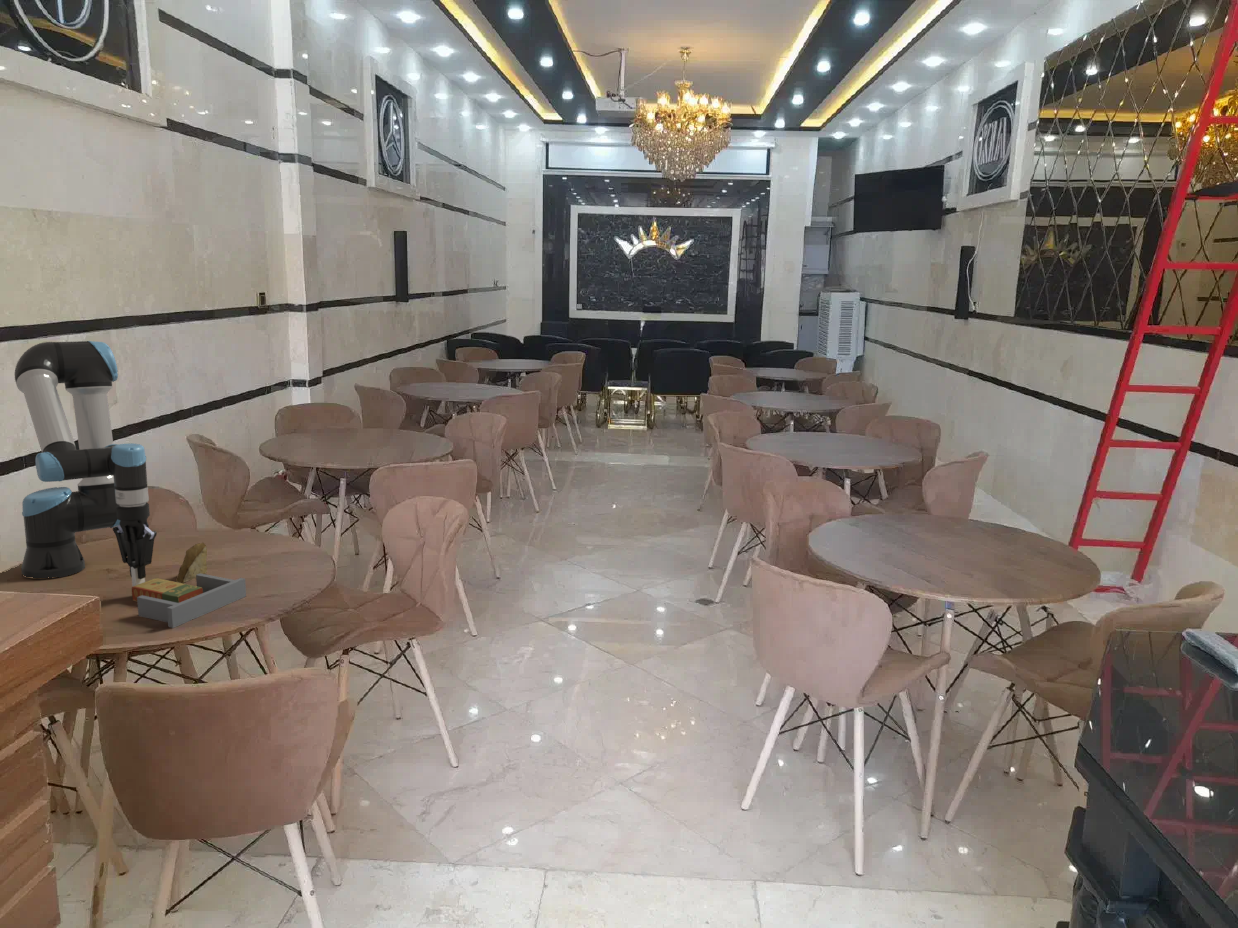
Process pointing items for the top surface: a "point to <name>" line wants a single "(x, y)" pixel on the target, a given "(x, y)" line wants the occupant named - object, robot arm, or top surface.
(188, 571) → the rock
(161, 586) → the carton
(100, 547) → the top surface
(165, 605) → the u stop
